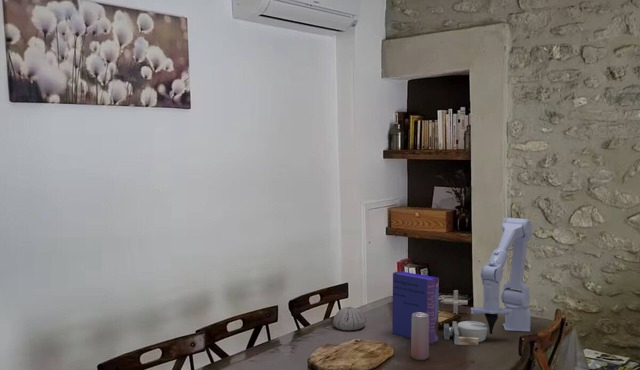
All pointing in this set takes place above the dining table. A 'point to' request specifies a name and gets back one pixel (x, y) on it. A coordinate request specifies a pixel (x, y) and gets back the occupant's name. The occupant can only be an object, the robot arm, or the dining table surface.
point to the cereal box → (414, 302)
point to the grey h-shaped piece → (451, 332)
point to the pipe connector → (455, 302)
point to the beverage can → (420, 336)
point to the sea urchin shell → (349, 319)
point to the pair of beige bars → (468, 341)
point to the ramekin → (473, 329)
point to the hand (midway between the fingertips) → (490, 333)
